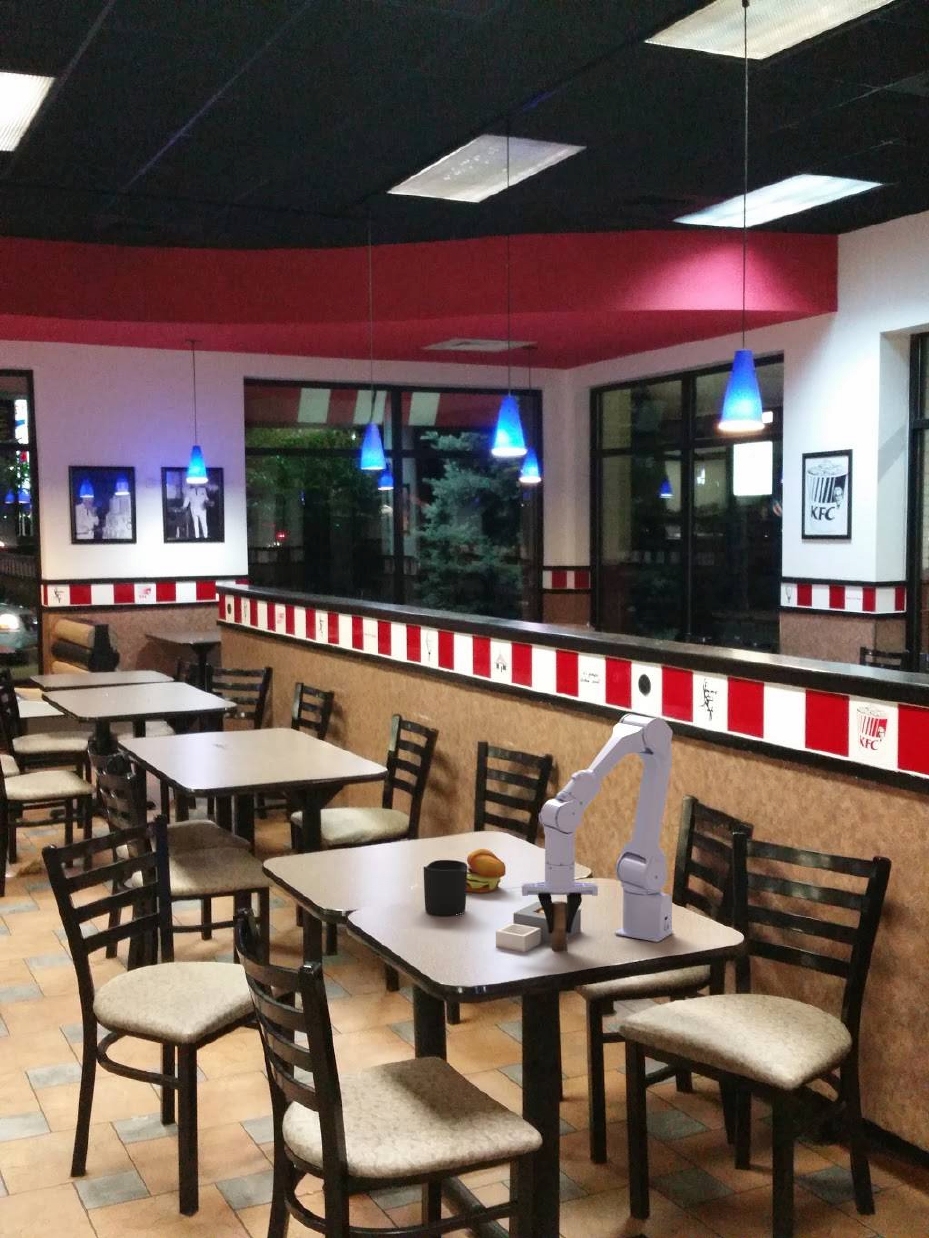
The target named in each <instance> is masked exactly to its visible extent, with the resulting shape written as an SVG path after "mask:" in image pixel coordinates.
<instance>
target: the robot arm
mask: <svg viewBox="0 0 929 1238" xmlns="http://www.w3.org/2000/svg"><path fill="white" fill-rule="evenodd" d="M672 738H673V730H672V729H671V727H670V726H669V725H668V723H667V722H666V721H665V719H662V718H660V717H649V716H643V715H637V714H634V713H626V714H625V715H623V716H621V718H620V719H619V721H618V723H617V724H615V725H614V726H613V730H612V735H611V736H610V738H609V739H608V741H607V742H606V743H605V744H604V746H603V747H602V748H601V750H600V752H599V753H598V754H597V756H596V757H595V758H594V759H593V762H592V763H591V764H590V765H589V767H588V768H587V769H580V770H578V771H577V772H574V773H572V775H571V776H570V777H571V778H570V780H569V781H568V783H566V785H565V786H564V787H563V788H562V789H561V791H559V792H558V793H556V796H555V798H551V799H549V800H547V801H546V802H545V803H544V804H543V806H542V808H541V810H540V813H538V818H539V819H538V820H539V822H540V824H541V825H542V827H543V834H544V881H540V882H529V883H524V882H523V883H521V895H522V896H523V897H527V896H537V897H538V902H540V904H541V906H542V908H543V911H544V913H545V916H546V921H547V927H548V933H552V902H553V900H552V896H556V895H557V896H566V903H567V933H571V929H572V924H573V920H574V917H575V915H576V912H577V910H578V909H580V908H579V907H580V906H581V904H582V902H583V897H582V896H592V897H595V896H596V897H597V896H598V891H599V890H598V889H599V886H598V884H597V883H595V882H594V883H593V882H592V883H591V882H577V881H575V877H576V875H575V867H576V865H575V863H576V861H575V860H576V859H575V857H576V855H575V853H576V852H575V851H576V846H575V845H576V842H575V841H576V837H575V836H576V835H575V834H576V830H577V829H578V828H579V827H580V825H581V823H582V820H583V819H582V818H583V815H584V814H585V810H586V809H587V807H589V805H590V803H591V802H592V801H593V800H594V799H595V797H597V795H598V794H599V793H600V792H601V790H602V781H603V780H604V778H605V777H607V776H608V774H609V773H610V772H611V771H612V770H613V769H614V768H615V767H616V765H618V764H619V763H620V762H621V761H622V760H623V759H624V758H625V757H626V756H627V755H629V754H635V753H636V754H637V755H638V757H639V758H640V759H641V760H642V762H643V767H642V773H641V774H642V775H641V780H640V785H639V791H638V792H639V793H638V798H637V804H636V809H635V818H634V823H633V830H632V835H631V836H632V837H631V839H630V840H629V841H628V842H627V843H625V844H624V845H623V846H622V850H621V854H620V856H619V858H618V860H617V861H616V865H615V875H616V877H617V879H618V881H620V882H621V883H620V886H621V888H622V927H621V928H619V929H618V930H616V931H615V932H614V935H616V936H622V937H627V938H633V939H638V940H639V939H640V940H645V941H650V942H656V943H658V942H660V941H662V940H664V939H665V938H667V937H668V936H670V935H671V934H673V933H674V930H673V929H672V928H673V900H672V897H671V895H670V894H667V893H664V892H663V891H662V889H663V888H664V887H665V885H666V883H667V881H668V870H667V855H666V853H665V852H664V850H663V849H662V847H661V845H660V841H661V840H660V838H661V833H662V828H663V820H664V814H665V809H666V803H667V796H668V789H669V783H670V777H671V770H672V764H673V752H672V746H671V745H672Z"/></svg>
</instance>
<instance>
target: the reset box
mask: <svg viewBox="0 0 929 1238" xmlns="http://www.w3.org/2000/svg"><path fill="white" fill-rule="evenodd" d="M541 910H543V908H542V906H541V904H540V901H536V902H534V903H532V904H530V905H528V906H526V907H523V908H522V909H518V910H517V911H514V912H513V914H512V915H513V916H512V917H513V922H512V923H514V924H519V925H525V926H530V927H536V928H541V941H543V942H547V943H548V942H549V943H551V942H552V933H548V927H547V921H546V916H545V914H541V913H538V912H540V911H541ZM581 915H582V908H578V910H577V912H576V915H575V917H574V920H573V924H572V929H571V933H567V939H569V938H570V937H573V936H574V935H576V934H577V933H579V932H581V929H582V927H581V926H582V924H581V923H582V922H581V919H582V916H581Z"/></svg>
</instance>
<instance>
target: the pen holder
mask: <svg viewBox="0 0 929 1238" xmlns="http://www.w3.org/2000/svg"><path fill="white" fill-rule="evenodd" d="M467 866H468V863H466V862H464V861H460V860H453V859H438V860H434V861H432V862H430V863H429V864H428V865H426V866H423V886H424V887H423V888H424V889H423V892H424V909H425V911H426V913H427V912H428V913H427V914H429V915H431V914H432V916H435V915H437V917H452V916H453V915H455V916H457V915H456V914H459V915H461V914H460V913H462V912H463V913H464V912H465V911H466V903H467V902H466V901H467V890H466V888H467ZM463 913H462V914H463ZM453 917H454V916H453Z"/></svg>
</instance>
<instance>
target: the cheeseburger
mask: <svg viewBox="0 0 929 1238" xmlns="http://www.w3.org/2000/svg"><path fill="white" fill-rule="evenodd" d="M466 857H467V858H466V862H467V888H466V892H470V893H477V894H478V893H481V894H482V893H489V892H493V891H496V890H497V889H498V888H499V884H500V883H501V881H502V879H501V878H502V877H504V876H506V872H507V871H506V870H507V869H506V864H505V862H503V860H501V859H500V858H498V857H497V855H496V854H494V852H492V851H490V850H489V849H485V848H478V849H476V850H474V851H472V852H470V854H469V855H467V856H466Z"/></svg>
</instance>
